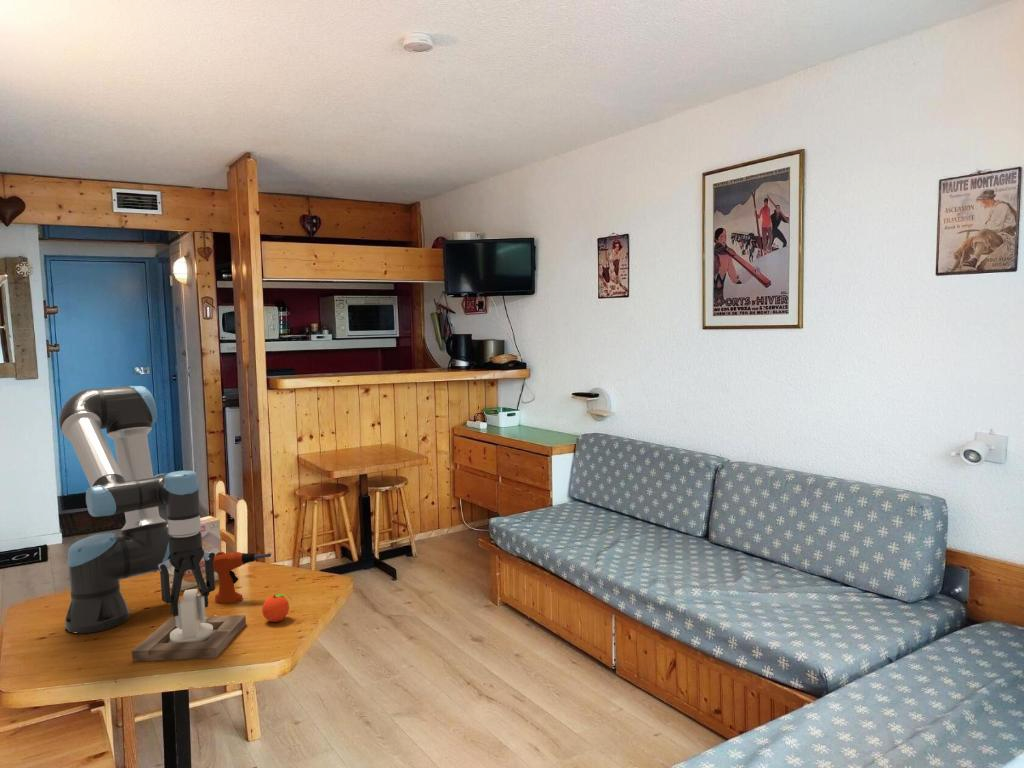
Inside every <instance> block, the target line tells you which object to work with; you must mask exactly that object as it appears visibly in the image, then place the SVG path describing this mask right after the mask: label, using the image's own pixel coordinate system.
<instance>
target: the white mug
mask: <svg viewBox="0 0 1024 768" xmlns="http://www.w3.org/2000/svg"><path fill="white" fill-rule="evenodd" d="M197 595H199V588H189V589H184V592H183V595H182V597H181V601H180V602H181V603H180V606H181V621H182V629H179V628H176V629H174V630H173V631H172V632H171V633H170V643H177V642H204V641H207V640H208V639H209V638H210V636H211V635H212V634H213V626H212V625H211V624H209V623H200V620H199V619H198V604H197Z"/></svg>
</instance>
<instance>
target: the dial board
mask: <svg viewBox="0 0 1024 768" xmlns="http://www.w3.org/2000/svg"><path fill="white" fill-rule="evenodd" d="M246 618H247V617H246V615H245V614H244V615H243V614H241V615H216V616H214V615H212V616H206V622H201V621H200V623H209V624H211V625H212V626H213V634H212V635H211V636H210V638H209V639H208V640H207V641H204V642H177V643H170V633H171V632H172V631H173V630H174V629H176V628H177V627H176V618H175V617H170V618H168V619H167V620H166V621H164V623H162V624H161V625H160V626H159V627H158V628H156V630H154V631H153V632H152V633H150V635H149V636H148V637H146V638H145V639H144V640H143V641H141V642H140V643H139V644H138V645H137V646H136V647H134V648H133V649H132V650H131V659H132V662H144V661H145V662H146V661H147V662H148V661H149V662H150V661H152V662H153V661H173V660H177V659H179V660H197V659H198V660H201V659H203V660H204V659H217V658H218V657H219V656H220V655H221V653H222V652H223V651H224V650H225V649H226V648H227V647H228V646H229V644H230V643H232V641H233V640H234V638H235V637H236V636H237V635H238V634H239V633H240V631H242V629H243V628H244V627H245V626H246V624H247V621H246Z"/></svg>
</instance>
